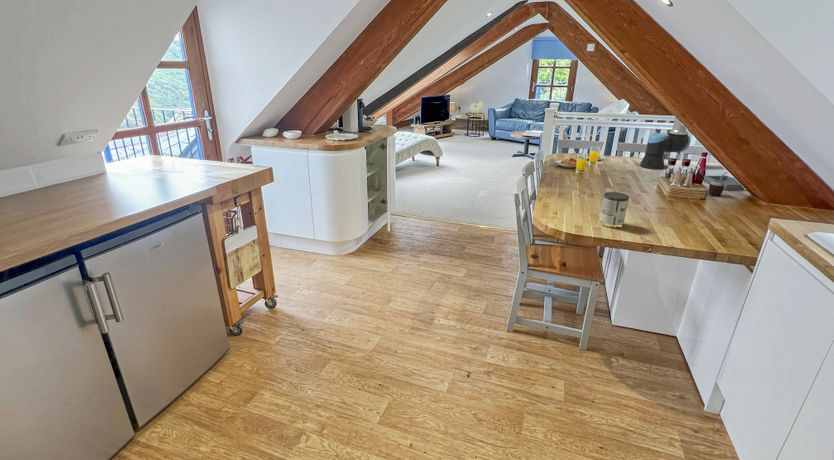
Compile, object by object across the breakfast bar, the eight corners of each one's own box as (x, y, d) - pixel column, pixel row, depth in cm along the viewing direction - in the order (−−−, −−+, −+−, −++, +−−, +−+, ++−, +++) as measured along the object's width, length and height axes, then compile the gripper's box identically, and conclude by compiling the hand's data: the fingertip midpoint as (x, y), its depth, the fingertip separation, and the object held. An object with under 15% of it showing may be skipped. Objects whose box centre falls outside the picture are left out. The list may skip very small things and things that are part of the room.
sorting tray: (702, 181, 260) (703, 175, 259) (725, 181, 260) (727, 175, 259) (724, 190, 242) (726, 184, 240) (749, 190, 242) (751, 184, 241)
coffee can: (604, 218, 198) (609, 190, 192) (626, 224, 191) (632, 195, 185) (595, 224, 191) (600, 195, 185) (617, 230, 184) (623, 200, 179)
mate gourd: (710, 192, 237) (717, 167, 231) (725, 196, 231) (733, 170, 225) (703, 194, 233) (711, 169, 228) (719, 198, 227) (727, 172, 221)
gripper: (721, 119, 244) (710, 158, 253) (743, 124, 228) (731, 165, 236) (734, 119, 244) (723, 158, 253) (757, 124, 228) (744, 165, 236)
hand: (727, 161), depth 245 cm, fingers closed on medicine box, 5 cm apart
